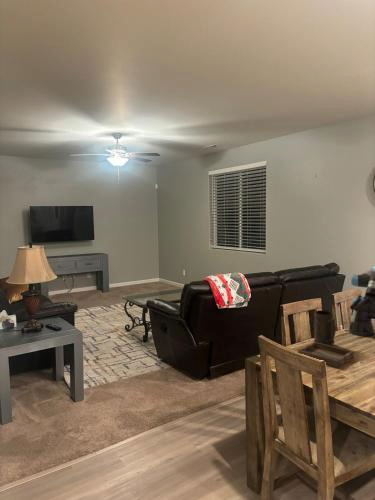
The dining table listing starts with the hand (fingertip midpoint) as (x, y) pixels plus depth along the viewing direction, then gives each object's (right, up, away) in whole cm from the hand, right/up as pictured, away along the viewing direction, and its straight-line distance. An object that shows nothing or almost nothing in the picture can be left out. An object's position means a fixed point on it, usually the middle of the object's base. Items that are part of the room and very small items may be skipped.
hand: (364, 323), depth 209 cm
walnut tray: (-25, -17, -8) cm, 31 cm away
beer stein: (-18, -15, +10) cm, 25 cm away
